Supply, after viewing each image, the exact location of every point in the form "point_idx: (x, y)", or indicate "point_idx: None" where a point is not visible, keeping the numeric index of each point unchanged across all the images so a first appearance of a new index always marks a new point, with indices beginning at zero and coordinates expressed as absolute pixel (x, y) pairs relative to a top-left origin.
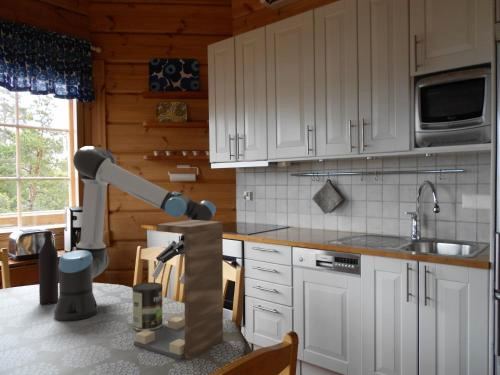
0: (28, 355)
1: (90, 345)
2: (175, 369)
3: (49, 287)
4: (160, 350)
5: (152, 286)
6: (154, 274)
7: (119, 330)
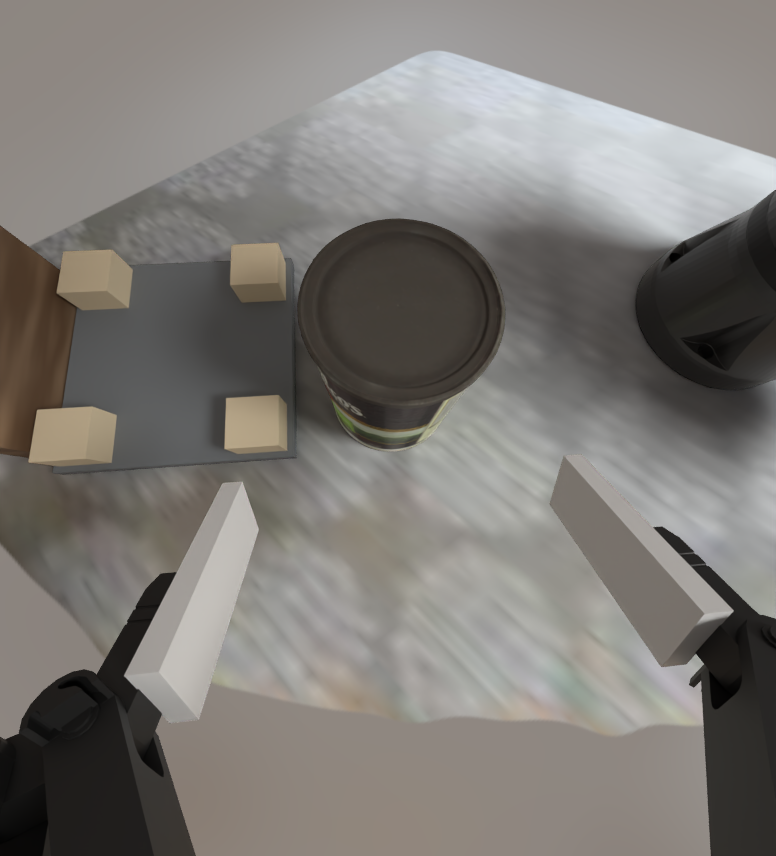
0: (472, 98)
1: (401, 201)
2: (68, 232)
3: None
4: (168, 264)
5: (372, 322)
6: (570, 477)
7: None
